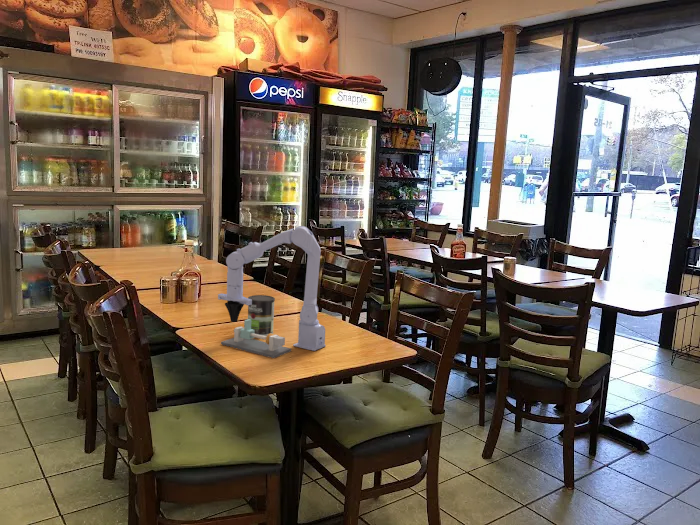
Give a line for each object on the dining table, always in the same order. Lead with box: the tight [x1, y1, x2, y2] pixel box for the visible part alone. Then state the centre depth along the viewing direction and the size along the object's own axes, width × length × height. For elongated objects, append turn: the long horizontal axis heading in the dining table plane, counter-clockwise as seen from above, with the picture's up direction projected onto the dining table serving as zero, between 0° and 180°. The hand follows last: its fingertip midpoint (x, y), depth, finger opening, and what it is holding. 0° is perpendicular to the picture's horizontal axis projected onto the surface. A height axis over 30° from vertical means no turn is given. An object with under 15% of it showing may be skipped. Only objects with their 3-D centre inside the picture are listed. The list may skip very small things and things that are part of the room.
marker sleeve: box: [240, 318, 255, 340], centre depth 201 cm, size 4×3×7 cm
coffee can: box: [247, 294, 276, 336], centre depth 218 cm, size 10×10×14 cm
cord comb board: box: [220, 325, 292, 359], centre depth 199 cm, size 24×10×6 cm, turn 60°
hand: (234, 321), depth 204 cm, fingers closed
